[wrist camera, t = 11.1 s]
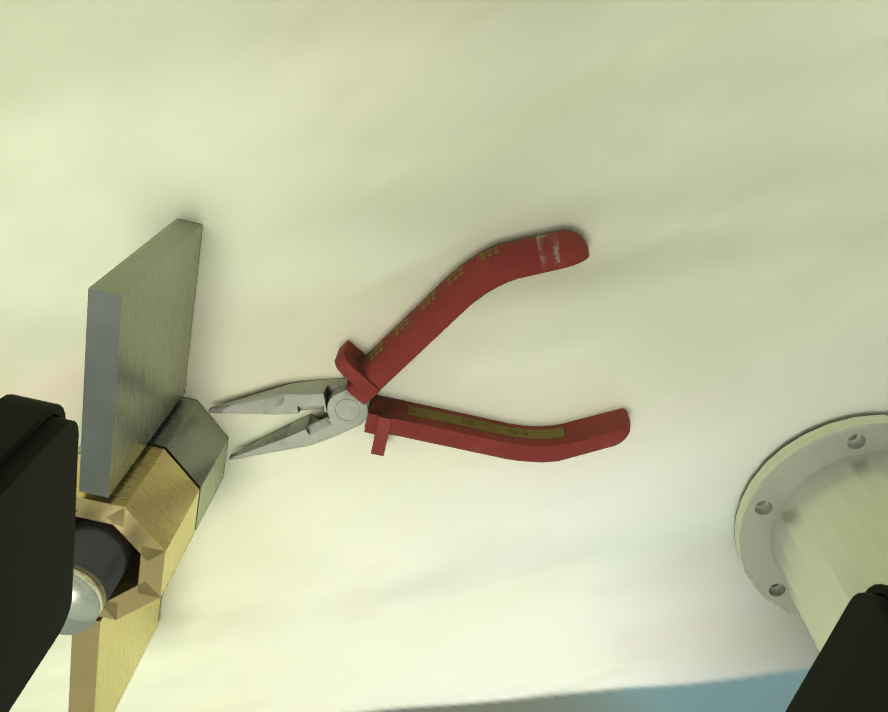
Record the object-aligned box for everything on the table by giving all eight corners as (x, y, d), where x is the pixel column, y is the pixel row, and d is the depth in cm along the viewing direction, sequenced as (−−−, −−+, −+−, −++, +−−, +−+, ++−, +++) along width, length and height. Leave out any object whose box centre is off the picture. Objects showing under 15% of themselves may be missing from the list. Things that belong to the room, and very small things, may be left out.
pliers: (181, 325, 40) (162, 347, 38) (580, 214, 37) (587, 231, 35) (267, 509, 45) (255, 539, 42) (629, 425, 41) (638, 452, 39)
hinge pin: (198, 427, 42) (99, 584, 31) (192, 474, 43) (95, 641, 32) (140, 414, 42) (20, 568, 31) (136, 462, 43) (20, 626, 32)
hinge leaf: (230, 410, 41) (169, 516, 33) (200, 634, 48) (142, 768, 40) (108, 383, 41) (16, 483, 33) (94, 612, 47) (14, 743, 39)
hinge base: (256, 237, 37) (191, 312, 29) (219, 505, 44) (157, 628, 36) (122, 205, 37) (18, 271, 29) (105, 480, 44) (15, 599, 35)
